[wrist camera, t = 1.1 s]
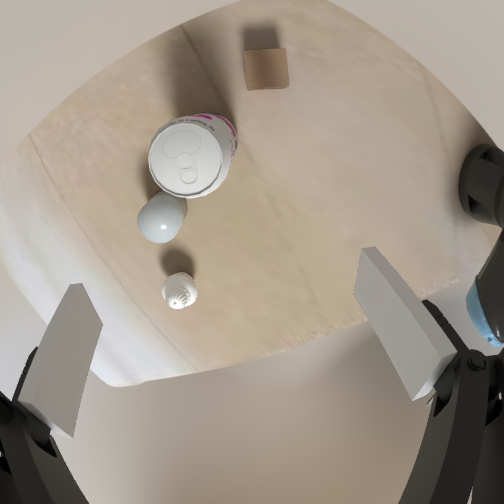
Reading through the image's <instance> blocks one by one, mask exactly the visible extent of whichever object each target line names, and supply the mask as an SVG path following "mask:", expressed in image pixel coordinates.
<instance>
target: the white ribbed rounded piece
mask: <svg viewBox="0 0 504 504" xmlns="http://www.w3.org/2000/svg"><path fill="white" fill-rule="evenodd" d="M161 291H162V295H163V297H164V298H165V300H166V302H167V304H168V305H169V306H170V307H171V308H175V309H180V308H183V307H185V306H188V305H190V304H192V303H193V302H194V301H195V300H196V298H197V293H198V292H197V288H196V285H195V282H194V281H193V279H192V277H191V276H190V275H189V274H187V273H185V272H179V273H176V274H173V275H171V276H169V277H168V278H167V279H166V280H165V281H164V282H163V284H162V287H161Z"/></svg>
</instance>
